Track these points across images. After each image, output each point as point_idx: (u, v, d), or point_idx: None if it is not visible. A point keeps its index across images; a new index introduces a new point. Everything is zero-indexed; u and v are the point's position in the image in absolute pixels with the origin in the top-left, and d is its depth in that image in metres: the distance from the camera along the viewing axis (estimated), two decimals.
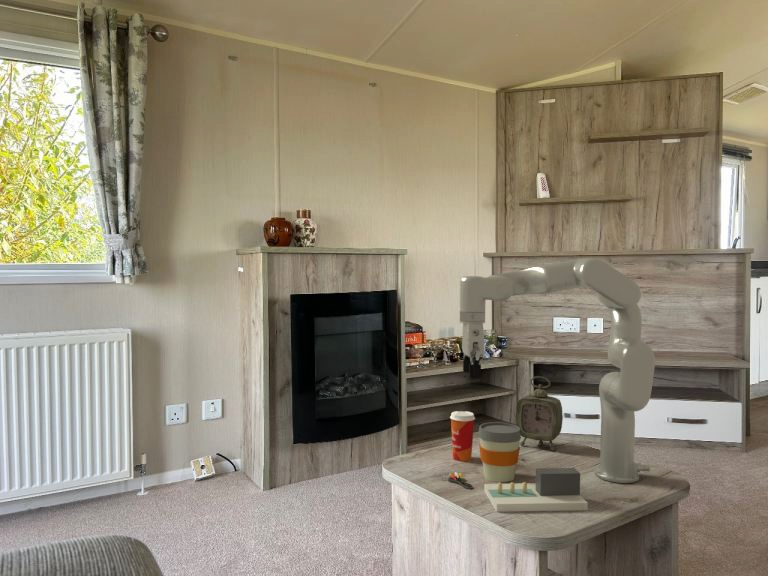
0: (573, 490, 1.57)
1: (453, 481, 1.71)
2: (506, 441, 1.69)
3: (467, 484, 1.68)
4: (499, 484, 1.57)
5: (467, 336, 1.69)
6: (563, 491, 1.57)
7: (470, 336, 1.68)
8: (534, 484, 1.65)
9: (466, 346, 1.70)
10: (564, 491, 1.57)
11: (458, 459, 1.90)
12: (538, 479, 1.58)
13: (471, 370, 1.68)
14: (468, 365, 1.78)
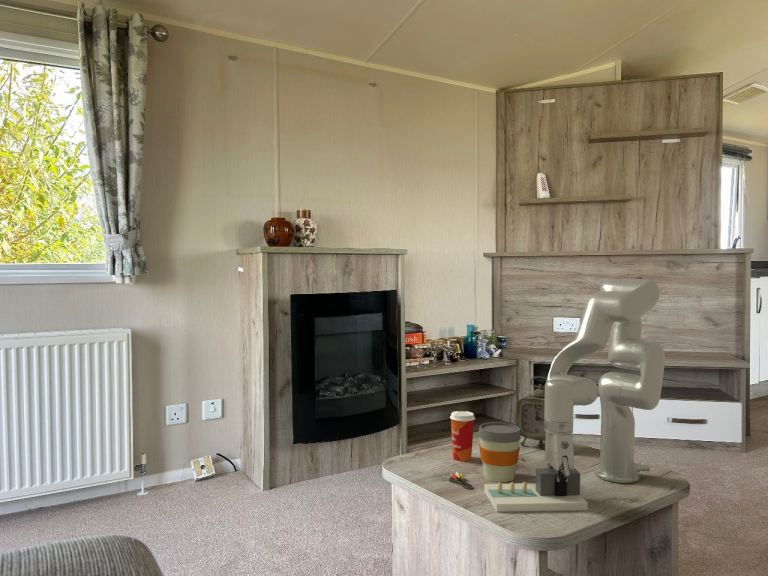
0: (573, 490, 1.57)
1: (454, 481, 1.71)
2: (506, 441, 1.69)
3: (467, 484, 1.68)
4: (499, 484, 1.57)
5: (555, 448, 1.54)
6: None
7: (559, 449, 1.53)
8: (534, 484, 1.65)
9: (553, 458, 1.55)
10: None
11: (458, 459, 1.90)
12: (538, 479, 1.58)
13: (556, 487, 1.56)
14: None
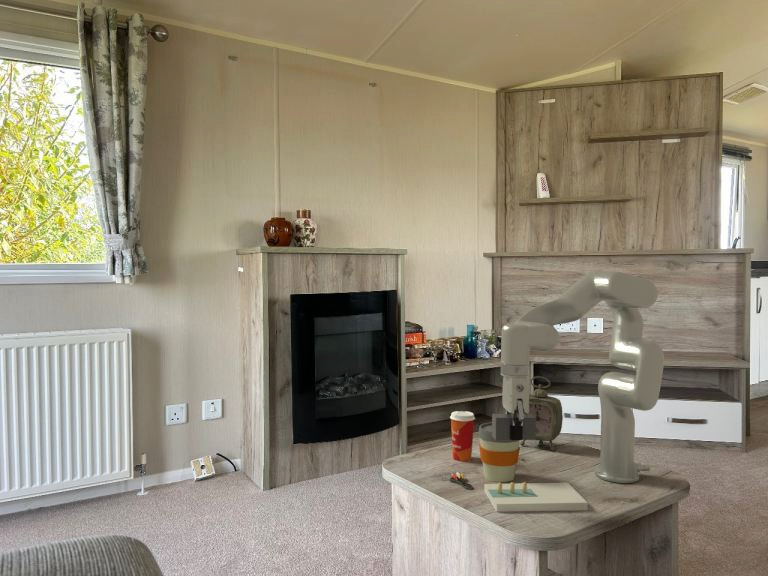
0: (529, 434, 1.55)
1: (454, 481, 1.71)
2: (506, 441, 1.69)
3: (468, 484, 1.68)
4: (499, 484, 1.57)
5: (510, 391, 1.53)
6: None
7: (514, 392, 1.52)
8: (534, 484, 1.65)
9: (509, 402, 1.54)
10: None
11: (458, 459, 1.90)
12: (494, 424, 1.57)
13: (512, 431, 1.54)
14: None
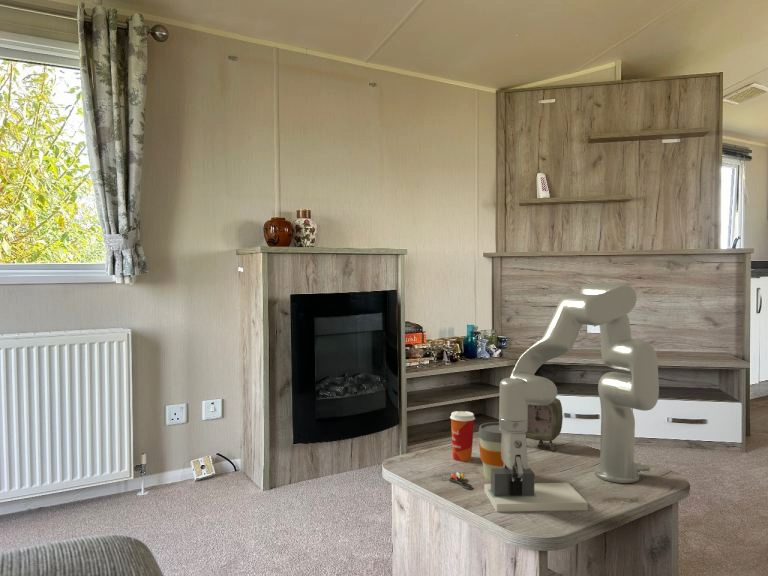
0: (527, 490, 1.56)
1: (454, 481, 1.71)
2: None
3: (467, 484, 1.68)
4: None
5: (508, 447, 1.54)
6: None
7: (512, 448, 1.53)
8: (534, 484, 1.65)
9: (507, 458, 1.55)
10: None
11: (458, 459, 1.90)
12: (492, 479, 1.57)
13: (511, 487, 1.54)
14: None
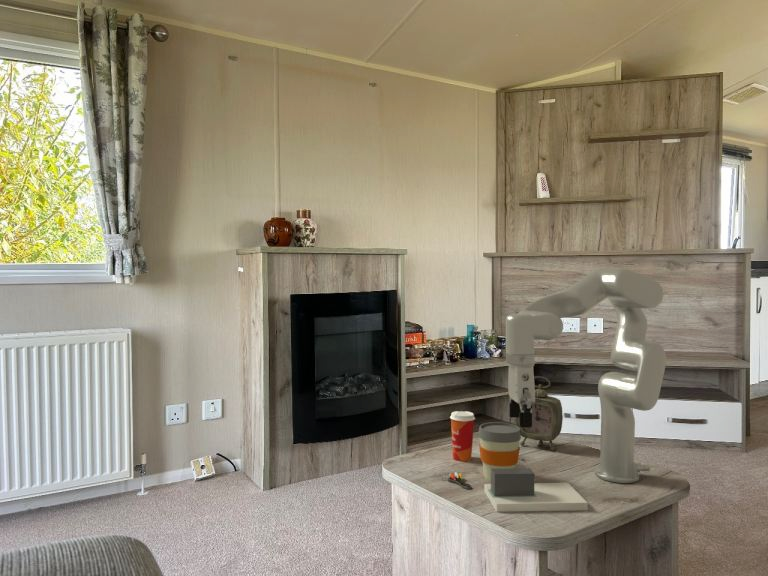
0: (527, 490, 1.56)
1: (453, 481, 1.71)
2: (506, 441, 1.69)
3: (466, 484, 1.68)
4: None
5: (516, 381, 1.54)
6: (517, 491, 1.56)
7: (519, 381, 1.53)
8: (534, 484, 1.65)
9: (515, 392, 1.55)
10: (518, 491, 1.56)
11: (458, 459, 1.90)
12: (492, 479, 1.57)
13: (521, 418, 1.53)
14: (515, 410, 1.63)
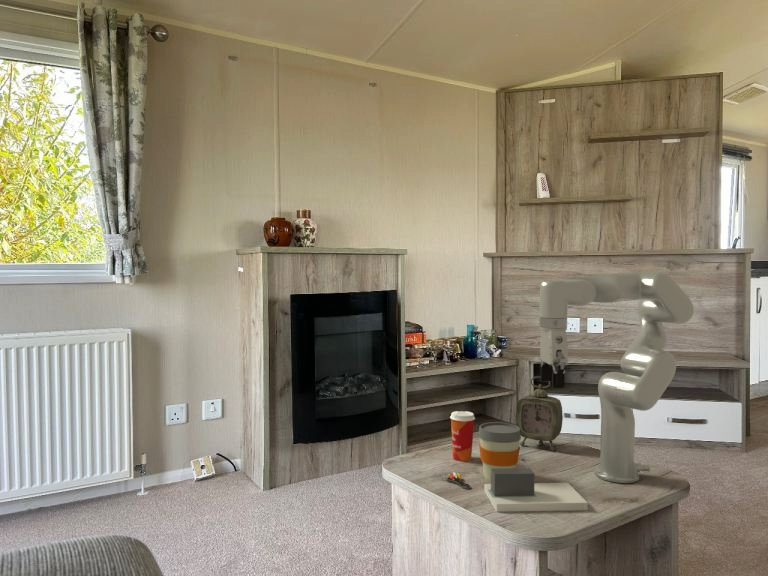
0: (527, 490, 1.56)
1: (451, 481, 1.71)
2: (506, 441, 1.69)
3: (465, 484, 1.68)
4: None
5: (549, 343, 1.60)
6: (517, 491, 1.56)
7: (553, 343, 1.59)
8: (534, 484, 1.65)
9: (548, 354, 1.61)
10: (518, 491, 1.56)
11: (458, 459, 1.90)
12: (492, 479, 1.57)
13: (554, 379, 1.59)
14: (546, 373, 1.69)
